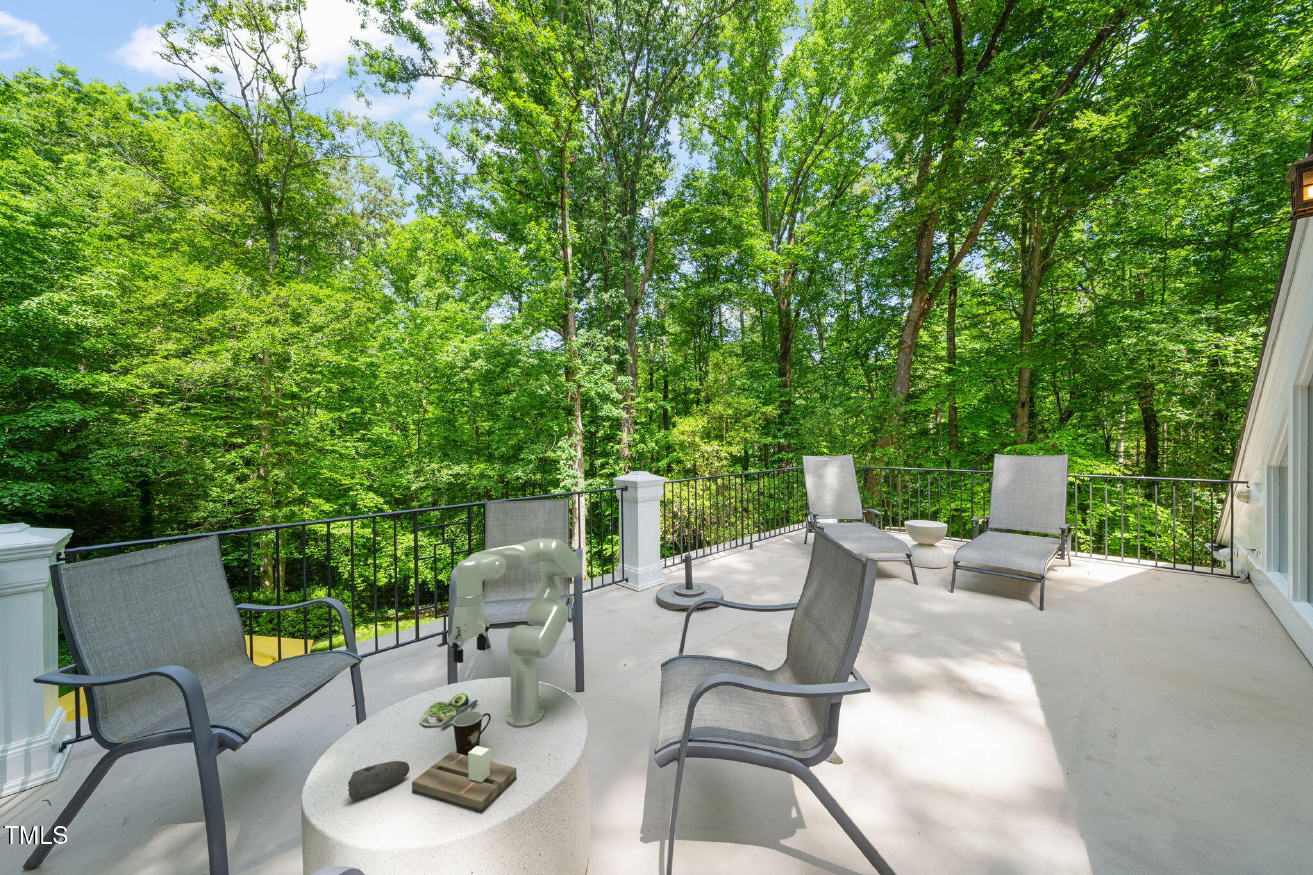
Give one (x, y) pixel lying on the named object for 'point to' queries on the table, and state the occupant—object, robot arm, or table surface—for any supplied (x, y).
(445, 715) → the salad plate
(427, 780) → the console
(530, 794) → the table surface
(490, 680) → the table surface
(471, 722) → the coffee mug
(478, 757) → the fader
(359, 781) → the perforated stone tool
